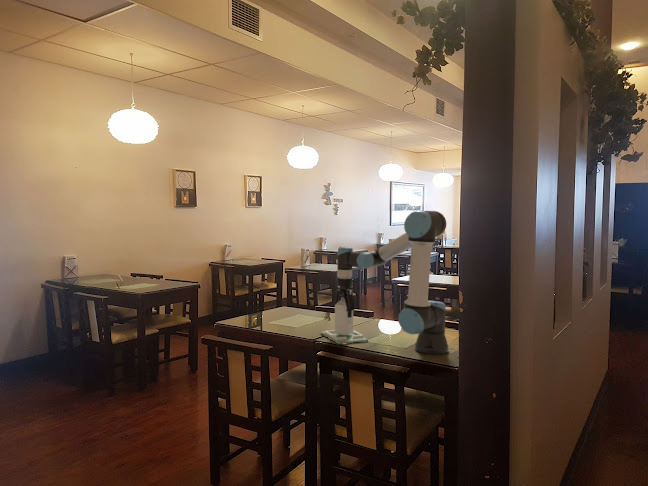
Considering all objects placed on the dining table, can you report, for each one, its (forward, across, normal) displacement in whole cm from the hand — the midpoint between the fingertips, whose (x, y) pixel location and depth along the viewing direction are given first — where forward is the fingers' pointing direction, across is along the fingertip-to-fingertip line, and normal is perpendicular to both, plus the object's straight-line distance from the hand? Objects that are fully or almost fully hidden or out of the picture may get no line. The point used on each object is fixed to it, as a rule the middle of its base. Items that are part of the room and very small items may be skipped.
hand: (343, 321), depth 236 cm
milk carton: (+6, 0, 0) cm, 6 cm away
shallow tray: (+8, 0, 0) cm, 8 cm away
